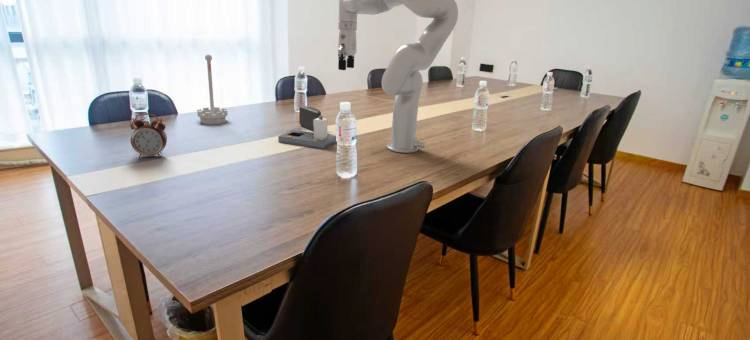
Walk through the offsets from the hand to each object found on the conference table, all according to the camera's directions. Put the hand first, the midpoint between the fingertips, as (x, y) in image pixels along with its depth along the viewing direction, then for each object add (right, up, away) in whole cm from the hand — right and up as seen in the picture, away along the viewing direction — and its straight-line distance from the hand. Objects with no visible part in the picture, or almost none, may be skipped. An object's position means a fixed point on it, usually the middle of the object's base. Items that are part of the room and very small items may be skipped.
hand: (346, 68), depth 183 cm
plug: (-10, -32, -10) cm, 35 cm away
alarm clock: (-65, -39, -35) cm, 83 cm away
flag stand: (-63, -21, +16) cm, 68 cm away
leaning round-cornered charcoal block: (-17, -25, +11) cm, 32 cm away
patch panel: (-15, -32, -9) cm, 36 cm away
